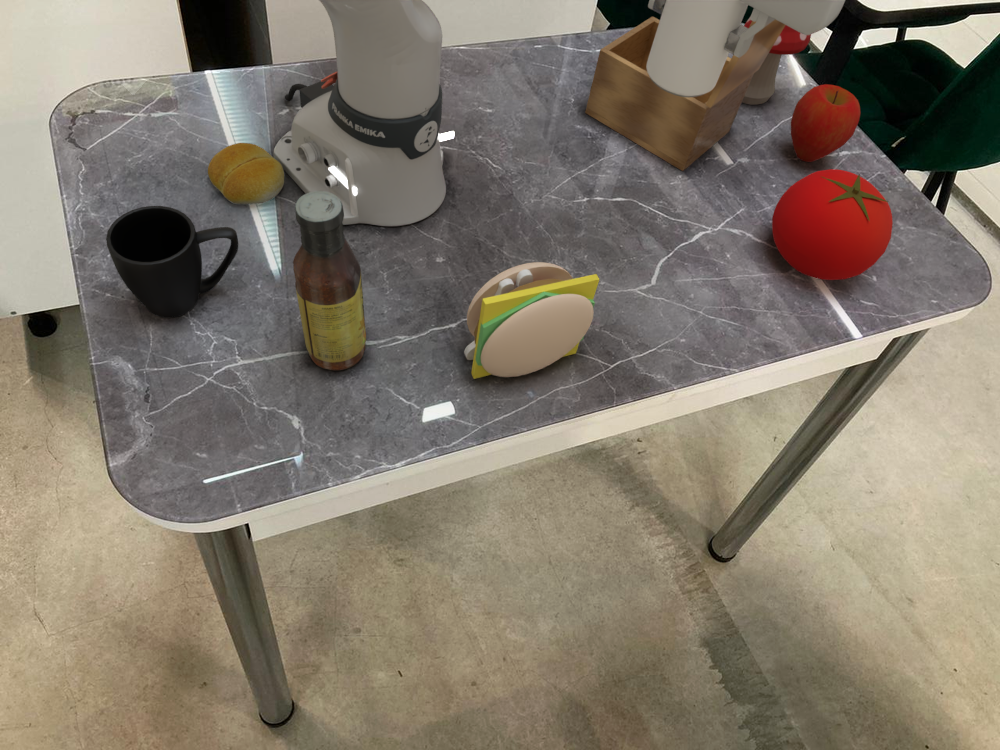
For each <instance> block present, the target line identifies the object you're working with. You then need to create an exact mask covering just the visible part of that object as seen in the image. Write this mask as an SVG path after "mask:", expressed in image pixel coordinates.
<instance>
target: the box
mask: <svg viewBox="0 0 1000 750" xmlns="http://www.w3.org/2000/svg"><path fill="white" fill-rule="evenodd" d="M659 22H660V19H658V18H657V17H655V16H650V17H648V19H646V20H644V21H643V22H641V23H640V24H638V25H637V26H635V27H633V28H632V29H630V30H629V31H626V32H625V33H624V34H621V36H619V37H617V38H616V39H615V40H613V41H612V42H610V43H608V44H607V45H605V46H603V47H602V48H600V50H599V54H598V57H597V62H596V65H595V70H594V74H593V78H592V83H591V87H590V91H589V95H588V98H587V103H586V107H585V111H584V113H585V114H586V115H588V116H589V117H591V118H593V119H595V120H596V121H598V122H600V123H601V124H603V125H605V126H607V127H608V128H610V129H611V130H613V131H615V132H616V133H617V134H620V135H621V136H623V137H625V138H626V139H628V140H630V141H631V142H633V143H635V144H637V145H638V146H640V147H641V148H643V149H645V150H646V151H648V152H650V153H651V154H653V155H655V156H657V157H658V158H660V159H661V160H663V161H665V162H667V163H668V164H670V165H672V166H673V167H675V168H676V169H678V170H680V171H682V172H684V171H685V170H687V169H688V168H689V167H690V166H691V165H692V164H694V163H695V162H696V161H697V160H699V158H700V157H702V155H704V154H705V153H706V152H708V151H709V150H710V149H711V148H713V146H714V145H716V144H717V143H718V142H719V141H720V140H722V139H723V138H724V137H725V136H726V135H728V133H730V131H731V129H732V126H733V124H734V122H735V119H736V117H737V114H738V112H739V110H740V108H741V105H742V104H743V103H742V100H743V98H744V96H745V93H746V91H747V89H748V86H749V84H750V81H751V79H752V77H753V74H752V75H751V76H750V77H749V78H747V79H746V80H745V81H744V82H742V83H741V84H740V85H739V86H737V87H736V88H735V89H734V90H732V91H731V92H730V93H729V94H727V95H726V96H725V97H724V98H722V99H721V100H720V101H719V102H717V103H716V104H715V105H714V106H713V107H711V108H709V107H708V106H707V105H706V103H707V101H708V99H709V97H710V96H711V94H712V92H713V90H714V89H715V87H716V85H717V83H718V81H719V80H720V78H721V76H722V74H723V73H724V71H725V69H726V67H727V65H728V64H729V62H730V60H731V58H732V57H730V56H728V57H727V59H726V61H725V64H724V66H723V69H722V71H721V74H720V76H719V78H718V81H717V83H716V85H715V87H714V88H713V89H712V90H711V91H710V92H708V93H706V94H704V95H701V96H697V97H681V96H677V95H673V94H671V93H668V92H666V91H664V90H662V89H661V88H659V87H658V86H657V85H656V84H655V83H654V82H653V81H652V80H651V78H650V76H649V74H648V72H647V68H646V65H647V61H648V57H649V54H650V51H651V47H652V44H653V41H654V38H655V35H656V31H657V28H658V25H659Z"/></svg>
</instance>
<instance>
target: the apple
mask: <svg viewBox="0 0 1000 750" xmlns="http://www.w3.org/2000/svg"><path fill="white" fill-rule="evenodd" d="M860 118H861V106H860V101H859V99H857V97H856V96H855V95H854V94H853V93H851V92H850V91H849V90H847V89H845V88H843V87H841V86H839V85H834V84H827V83H825V84H820V85H816V86H813V87H812V88H810V89H809V90H808V91H806V92H805V93H804V94H803V95H802V97H801V98H800V99H799V100H798V101H797V102H796V104H795V107H794V110H793V114H792V115H791V120H790V136H791V142H792V147H793V150H794V153H795V155H796V158H797V159H799V160H800V161H802V162H805V163H812V162H813V163H814V162H815V161H817V160H821V159H822V158H825V157H827V156H829V155H830V154H832V153H834V152H836V151H837V150H838V149H840V148H842V147H843V146H844V145H846V143H847V142H848V141H849V140H850V139H851V138H852V137H853V136H854V133H855V131H856V129H857V127H858V125H859V122H860Z"/></svg>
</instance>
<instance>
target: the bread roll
mask: <svg viewBox="0 0 1000 750" xmlns="http://www.w3.org/2000/svg"><path fill="white" fill-rule="evenodd" d="M207 175H208V178H209V180H210V182H211V184H212V185H213V186H214V187H215V188H216V189H217V190H218V191H219V192H220V193H221V194H222V195H223V197H224V198H225V199H226V200H228V201H229V202H230V203H232V204H235V205H260V204H261V205H262V204H265V203H267V202H269V201H271V200H273V199H274V198H275V197H276V196H278V195H279V193H280V192H281V191H282V189H283V188H284V183H285V170H284V169H283V167H282V165H281V164H280V162H278V161H277V160H276V159H275V158H274V156H272V155H271V154H270V153H269V152H268V151H267V150H265V149H264V148H263V147H261V146H259V145H257V144H255V143H248V142H237V143H233V144H231V145H228V146H225V147H224V148H222V149H221V150H220V151H218V152H217V153H216V154H214V155H213V156H212V158H211V160H210V162H209V164H208V167H207Z"/></svg>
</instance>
